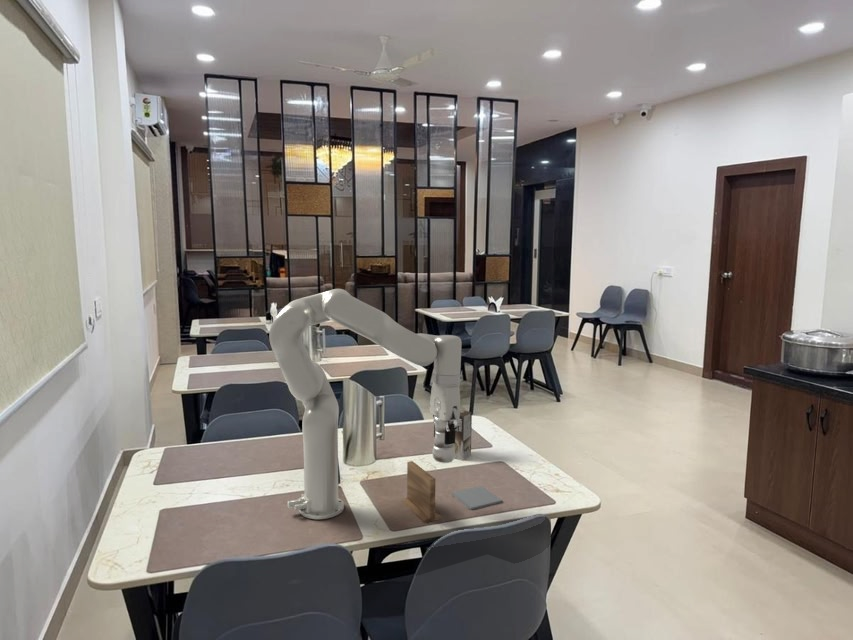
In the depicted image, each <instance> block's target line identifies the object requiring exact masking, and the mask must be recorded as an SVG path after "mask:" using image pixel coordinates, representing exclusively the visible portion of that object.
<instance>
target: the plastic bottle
mask: <svg viewBox="0 0 853 640" xmlns="http://www.w3.org/2000/svg"><path fill="white" fill-rule="evenodd" d="M451 419H453V417H451V418H450V420H451ZM434 420H435V437H434V440H433V441H434V442H433V447H432V457H433V460H434V461H435V462H437V463H442V464H448V463H451V462H453V461H454V460H455V459H456V458H455V446H454V444H448V445H446V444H445V431H446V422H444V421H442V420H440V419H439V410H437V409H436V408H435V410H434V417H433V421H434ZM452 423H453V422H449V424H450V425H451V424H452Z"/></svg>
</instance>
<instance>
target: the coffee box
mask: <svg viewBox="0 0 853 640" xmlns="http://www.w3.org/2000/svg"><path fill="white" fill-rule="evenodd" d="M472 416H473V412H472V411H468V410H462V409H460V417H459V418H460V421H461V424H460V425H459V426H458V427H457V430H456V433H455V443H454V446H455V458H454V459H457V460H461V461H465V460H466V459H467V458H469V457H471V456H472V426H473V425H472V424H473V423H472V420H473V419H472V418H473V417H472Z"/></svg>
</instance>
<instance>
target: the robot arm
mask: <svg viewBox="0 0 853 640" xmlns="http://www.w3.org/2000/svg"><path fill="white" fill-rule="evenodd" d="M329 321H332V322H333V323H335V324H337V325H339V326H341V327H343V328H346V329H348V330H350V331H351V332H354V333H355V334H358V335H360V336H361V337H364V338H366V339H368V340H370V341H371V342H372V343H374V344H376V345H378V346H380V347H382V348H383V349H385V350H387V351H388V352H390V353H392V354H394V355H396V356H398V357H400V358H401V359H403V360H406V361H408V362H410V363H412V364H414V365H417V366H420V367H426V366H430V365H431V364H432V363H433V381H432V385H431V390H430V400H429V412H430V414H431V415H432V417H433V418H434V410H435V408H436V409H437V410H439V419H440V420H442V421H444V422H446V431H445V444H446V445H448V444H454V443H455V433H456V430H457V427H458V426H459V425H460V424H461V421H460V418H459V417H460V410H461V389H460V383H461V367H462V365H461V364H462V363H461V362H462V339H461V338H460V337H459V336H457V335H452V334H440V335H434V334H429V333H415V332H413V331H412V330H410V329H408V328H406V327H405V326H402V325H401V324H400V323H398V322H396V321H395V320H394V319H393V318H392V317H390V316H389V315H388V314H387V313H385V312H384V311H382V310H380V309H378V308H376V307H374V306H372V305H370V304H368V303H366V302H364V301H361V300H360V299H358V298H357V297H354V296H353V295H351V294H350V293H349V292H348V291H347V290H346V289H342V288H334V289H330V290H326V291H323V292H319V293H317V294H316V293H315V294H312V295H307V296H305V297H301V298H297V299H294V300H292V301H290V302H289V303H288V304H286V305H285V306H283V308H281V310H280V311H279V313H278V314H277V315H276V317H275V318H274V319H273V320H272V323H271V325H270V328H269V338H268V339H269V343H270V347H271V350H272V353H273V355H274V358H275V359H276V362H277V364H278V367H279V369H280V371H281V374H282V376H283V378H284V380H285V382H286V385H287V388H288V390H289V392H290V394H291V395H292V396H293V397H294V398H295V399H296V400H298V401H301V403H302V405H303V406H304V413H303V416H302V423H301V424H302V426H301V427H302V428H301V430H302V440H303V442H302V443H303V475H304V476H303V481H304V482H303V483H304V485H303V487H304V493H301V494H300V495H301V497H298V499H291V500H288V501H287V503H286V504H287V508H288V509H291V508H294V511H298V512H299V513H300V515H301V516H303V517H304V518H307V519H311V520H326V519H332V518H334V517H336V516H338V515H340V514H341V513H343V511H344V508H345V503H344V501H343V500H342V499H341V498H339V413H340V411H339V409H340V405H339V402H338V399H337V398H336V395H335V392H334V391H333V389H332V387H331V384H330V381H329V379H328V377H327V375H326V372H325V371H324V369H323V367H321V365H320V364H319V363H318V362H316V361H313V360H312V359H311V356H310V353H309V351H308V348H307V347H306V345H305V344H304V341H303V335H304V333H305V332H306V331H307V330H308V329H309V328H310V327H311V326H315V325H318V324H322V323H323V324H324V323H326V322H329ZM451 417H453V419H451V420H450V418H451ZM449 422H453V423H452V424H451V425H450V424H449ZM432 423H433V424H434V425H433V438H435V420H434V419H433V422H432Z"/></svg>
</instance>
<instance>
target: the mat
mask: <svg viewBox="0 0 853 640" xmlns="http://www.w3.org/2000/svg"><path fill="white" fill-rule="evenodd" d="M450 495H451V496H452V495H453V498H455V499H456V498H457V499H456V500H457V501H459V502H460V501H461V502H462V505H464V506H465V505H466V506H465V507H466V508H467V509H468V510H470V511H473V510H476V508H477V509H480V508H485V507H488V506H492V505H496V504H500V503H503V499H502V498H500V497H498V496H497V495H495V494H494V493H492V492H491V491H490V490H488V489H487V488H486V487H484V486H483V485H479V486H478V485H477V486H474V487H470V488H465V489H461V490H457V491H454V492H451V493H450ZM461 502H460V503H461ZM472 509H473V510H472Z"/></svg>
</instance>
